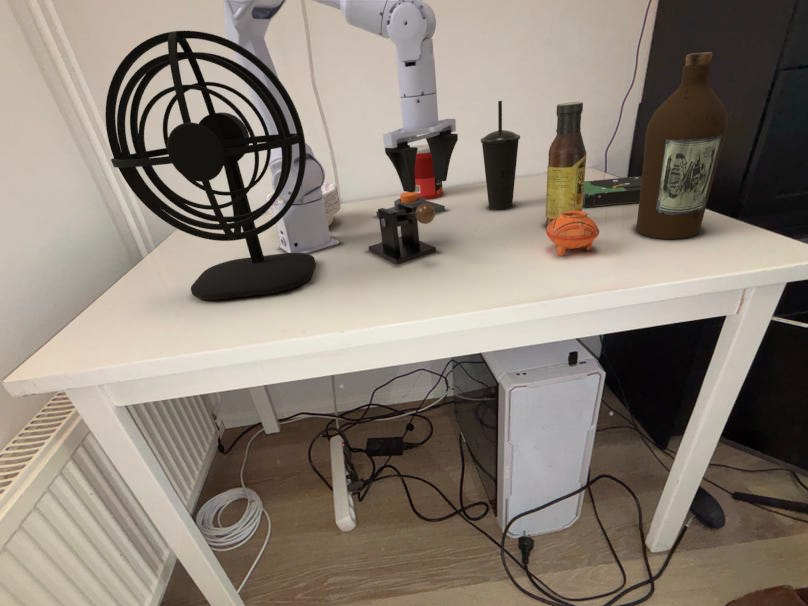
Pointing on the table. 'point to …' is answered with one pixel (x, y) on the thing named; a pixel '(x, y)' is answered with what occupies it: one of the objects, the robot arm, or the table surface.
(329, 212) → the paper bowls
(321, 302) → the table surface
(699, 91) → the brown liquor bottle
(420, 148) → the canned food
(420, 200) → the control block
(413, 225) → the bracket
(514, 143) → the drinking cup
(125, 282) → the table surface
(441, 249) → the table surface
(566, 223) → the pot
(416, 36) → the robot arm
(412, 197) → the button
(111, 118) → the desk fan
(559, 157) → the sauce bottle
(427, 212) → the lever
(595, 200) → the disk drive
